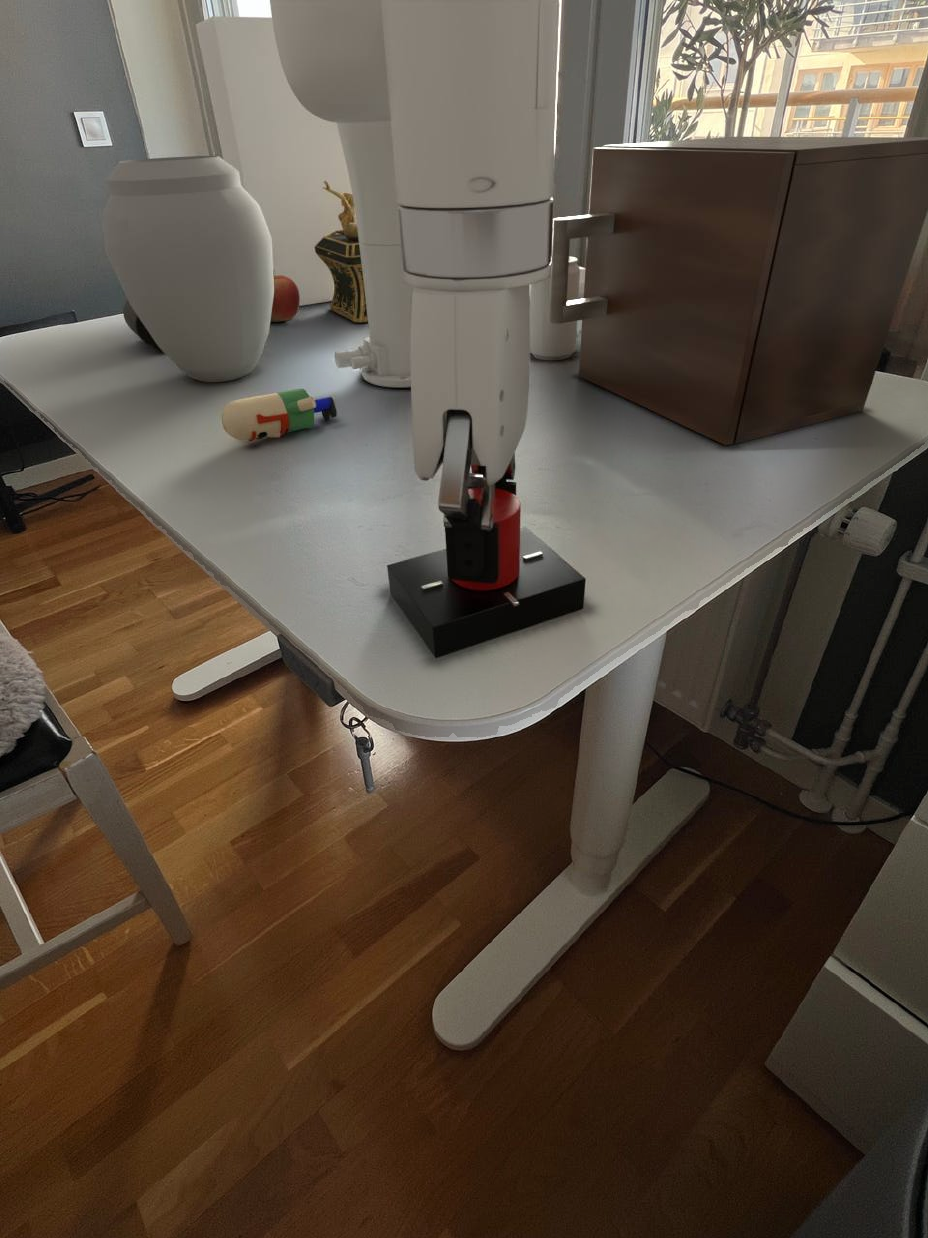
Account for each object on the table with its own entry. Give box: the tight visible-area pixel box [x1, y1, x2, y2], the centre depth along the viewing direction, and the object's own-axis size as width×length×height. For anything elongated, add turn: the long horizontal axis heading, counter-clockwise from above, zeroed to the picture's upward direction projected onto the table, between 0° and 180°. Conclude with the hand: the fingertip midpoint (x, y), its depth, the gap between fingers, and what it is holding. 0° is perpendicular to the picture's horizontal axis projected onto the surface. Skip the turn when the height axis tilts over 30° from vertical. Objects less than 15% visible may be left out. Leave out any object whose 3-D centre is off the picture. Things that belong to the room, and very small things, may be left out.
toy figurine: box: [220, 388, 338, 442], centre depth 72 cm, size 8×4×12 cm
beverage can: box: [530, 255, 580, 361], centre depth 90 cm, size 6×6×12 cm
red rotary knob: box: [452, 488, 522, 591], centre depth 44 cm, size 5×5×5 cm
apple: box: [270, 269, 300, 323], centre depth 113 cm, size 8×8×8 cm
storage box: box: [195, 16, 357, 307], centre depth 118 cm, size 21×10×40 cm, turn 121°
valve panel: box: [386, 526, 587, 659], centre depth 46 cm, size 11×9×3 cm
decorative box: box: [315, 181, 368, 324], centre depth 110 cm, size 20×10×20 cm, turn 29°
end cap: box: [122, 299, 164, 353], centre depth 103 cm, size 10×7×7 cm
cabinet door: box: [550, 146, 795, 446], centre depth 67 cm, size 8×26×24 cm, turn 26°
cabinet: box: [602, 136, 928, 445], centre depth 72 cm, size 18×26×24 cm
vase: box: [101, 155, 274, 383], centre depth 85 cm, size 20×20×24 cm
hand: (483, 553), depth 44 cm, fingers closed on red rotary knob, 4 cm apart
